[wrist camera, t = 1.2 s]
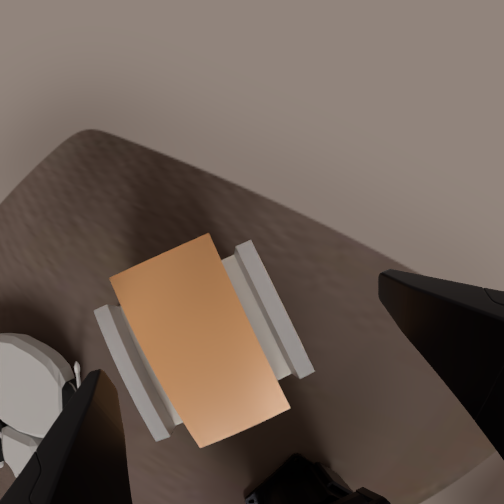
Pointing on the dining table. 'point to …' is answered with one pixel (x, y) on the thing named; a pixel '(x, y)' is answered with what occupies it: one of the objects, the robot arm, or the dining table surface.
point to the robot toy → (30, 395)
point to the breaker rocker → (199, 341)
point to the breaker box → (258, 313)
